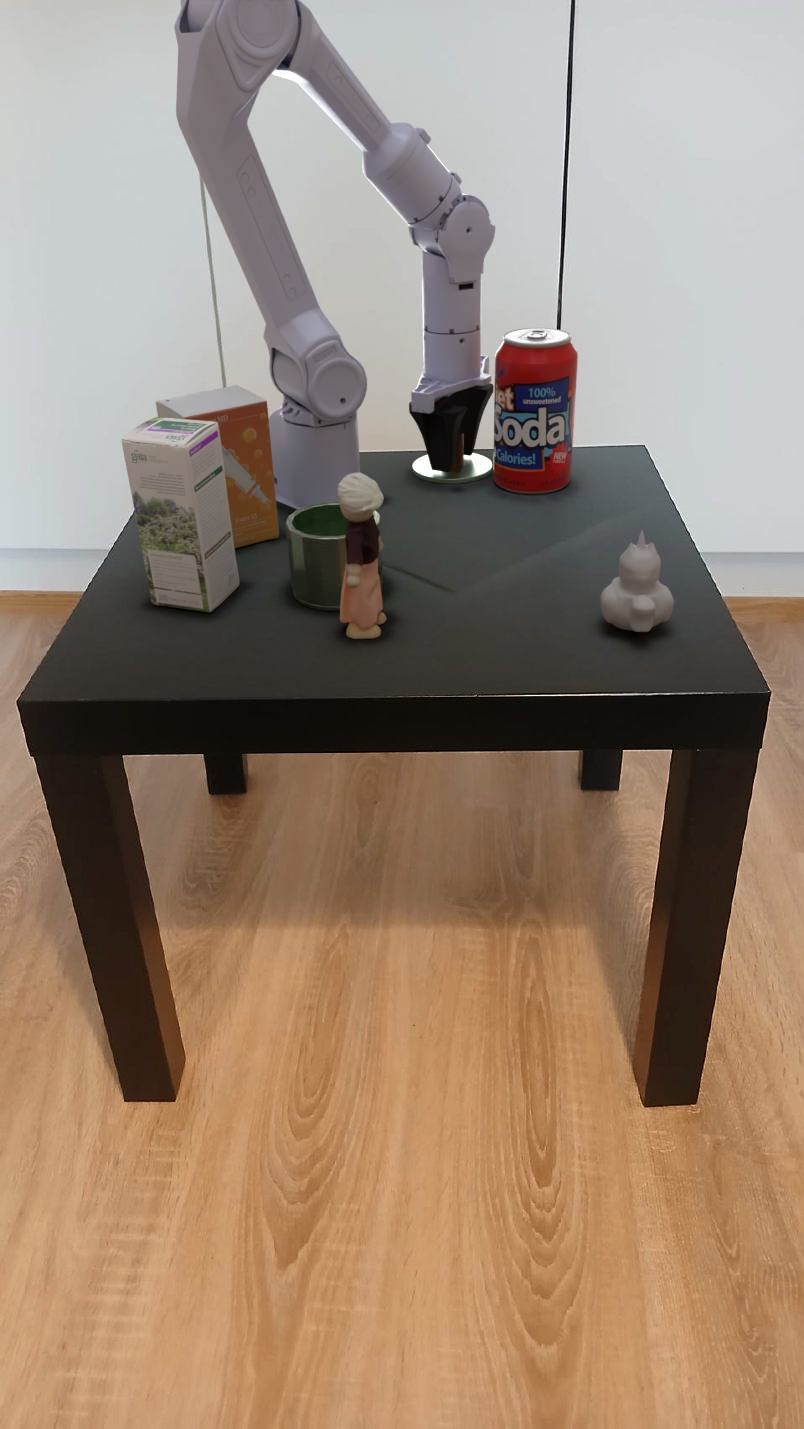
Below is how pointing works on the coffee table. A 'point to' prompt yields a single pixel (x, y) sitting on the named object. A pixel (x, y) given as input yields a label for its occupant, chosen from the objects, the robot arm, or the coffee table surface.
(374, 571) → the grandmother figurine
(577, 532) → the coffee table surface
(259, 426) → the small box
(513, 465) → the soda can
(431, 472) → the pot lid
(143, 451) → the syrup box
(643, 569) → the horned animal figurine
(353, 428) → the robot arm
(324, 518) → the pot
